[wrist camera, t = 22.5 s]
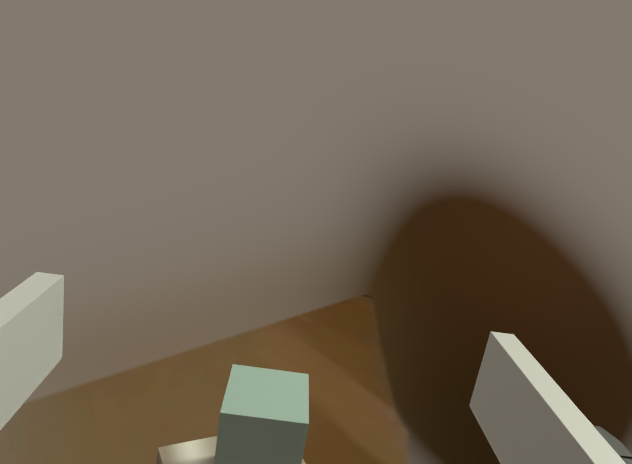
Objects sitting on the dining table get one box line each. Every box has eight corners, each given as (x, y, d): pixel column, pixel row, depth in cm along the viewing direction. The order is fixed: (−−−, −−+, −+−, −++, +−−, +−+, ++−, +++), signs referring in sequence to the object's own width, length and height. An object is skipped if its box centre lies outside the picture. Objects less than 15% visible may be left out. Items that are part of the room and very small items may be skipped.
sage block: (290, 523, 42) (308, 423, 39) (207, 513, 42) (220, 412, 39) (292, 462, 49) (308, 374, 46) (221, 454, 48) (233, 364, 46)
